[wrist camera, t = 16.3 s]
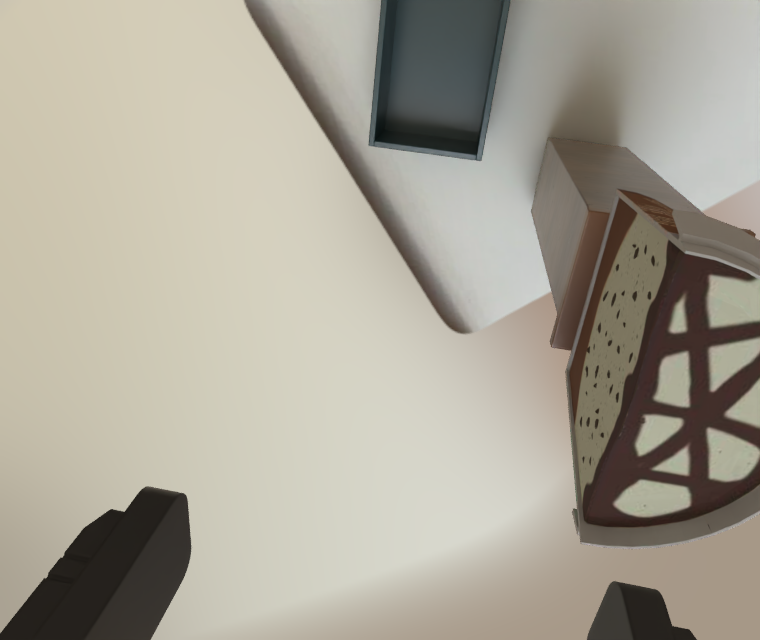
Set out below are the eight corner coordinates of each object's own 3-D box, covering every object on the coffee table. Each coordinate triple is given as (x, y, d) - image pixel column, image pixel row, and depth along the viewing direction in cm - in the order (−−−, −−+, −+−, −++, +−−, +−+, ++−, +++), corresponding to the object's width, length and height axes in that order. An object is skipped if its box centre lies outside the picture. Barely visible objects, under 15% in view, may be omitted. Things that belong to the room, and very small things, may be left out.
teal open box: (519, -67, 39) (524, -79, 34) (481, 146, 46) (481, 161, 41) (400, -78, 40) (389, -92, 35) (380, 133, 46) (368, 145, 42)
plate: (750, 229, 25) (756, 234, 24) (693, 365, 28) (697, 371, 28) (586, 206, 26) (588, 210, 25) (549, 341, 29) (550, 347, 28)
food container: (684, 419, 29) (758, 593, 20) (558, 396, 29) (577, 554, 21) (788, 172, 23) (957, 267, 14) (626, 152, 24) (692, 231, 15)
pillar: (627, 147, 44) (734, 238, 25) (604, 222, 47) (686, 354, 28) (547, 137, 45) (595, 219, 26) (530, 211, 47) (561, 334, 29)
